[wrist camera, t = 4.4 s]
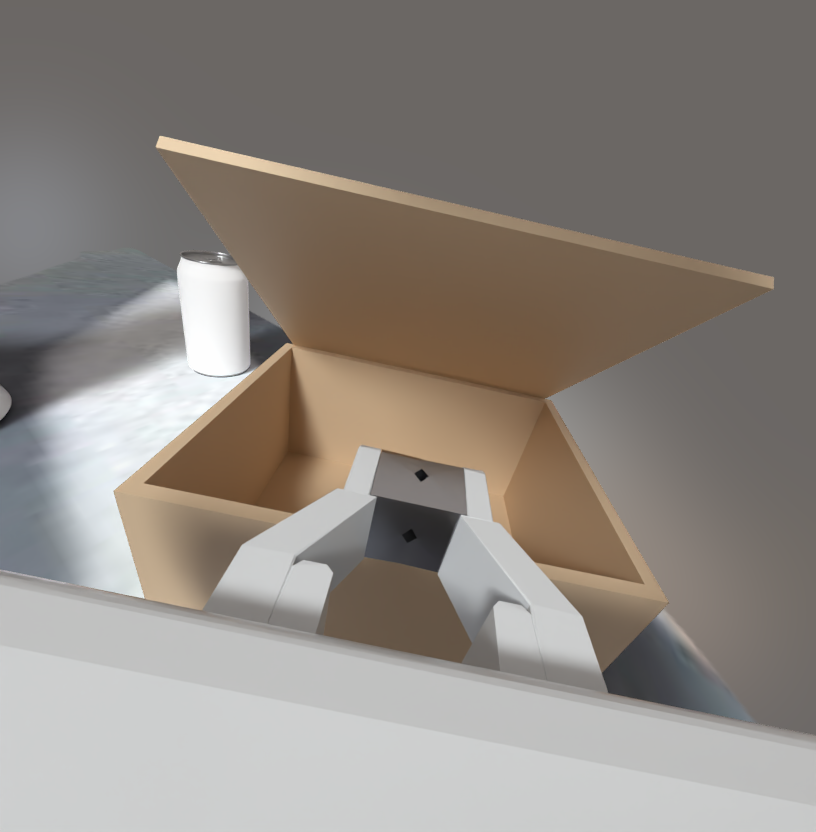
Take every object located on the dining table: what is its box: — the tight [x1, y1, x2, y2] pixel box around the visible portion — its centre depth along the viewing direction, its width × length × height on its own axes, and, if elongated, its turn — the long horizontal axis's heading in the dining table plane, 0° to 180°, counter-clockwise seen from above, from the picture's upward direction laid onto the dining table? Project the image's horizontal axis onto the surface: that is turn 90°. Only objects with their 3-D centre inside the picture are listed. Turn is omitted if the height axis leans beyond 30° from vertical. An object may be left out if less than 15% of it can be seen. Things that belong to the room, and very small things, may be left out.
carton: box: [114, 343, 669, 673], centre depth 22 cm, size 16×20×10 cm
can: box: [177, 250, 250, 377], centre depth 39 cm, size 6×6×12 cm
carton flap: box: [156, 136, 774, 399], centre depth 19 cm, size 16×19×1 cm
